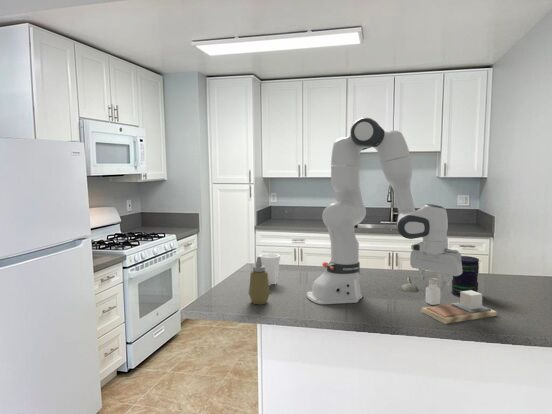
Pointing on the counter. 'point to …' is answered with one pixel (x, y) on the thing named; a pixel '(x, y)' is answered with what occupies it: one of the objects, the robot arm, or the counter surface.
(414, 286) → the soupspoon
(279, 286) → the counter surface
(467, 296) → the cream block
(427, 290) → the pepper shaker
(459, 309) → the oak board
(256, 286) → the squeeze bottle
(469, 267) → the storage jar
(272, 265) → the foam cup
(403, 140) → the robot arm
